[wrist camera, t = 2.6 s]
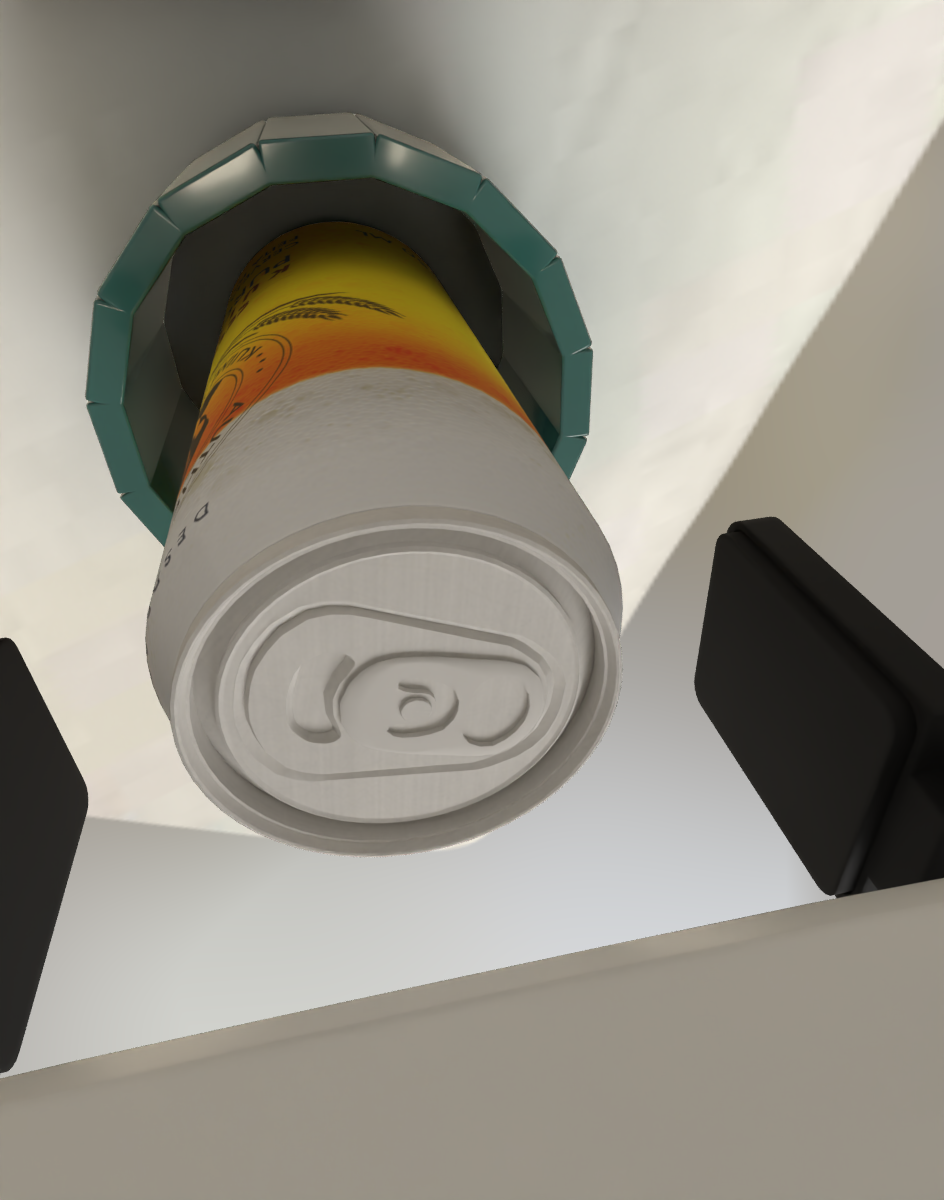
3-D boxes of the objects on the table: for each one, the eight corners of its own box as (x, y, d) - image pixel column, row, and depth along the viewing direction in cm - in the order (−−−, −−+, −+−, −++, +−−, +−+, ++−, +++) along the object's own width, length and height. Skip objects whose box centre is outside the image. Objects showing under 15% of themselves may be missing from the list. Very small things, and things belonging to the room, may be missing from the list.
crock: (78, 129, 17) (-5, 158, 12) (524, 100, 19) (605, 115, 14) (196, 526, 23) (171, 647, 19) (525, 483, 25) (582, 586, 20)
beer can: (233, 189, 18) (125, 438, 6) (473, 245, 20) (737, 521, 8) (220, 424, 22) (130, 881, 10) (427, 454, 23) (568, 873, 11)
